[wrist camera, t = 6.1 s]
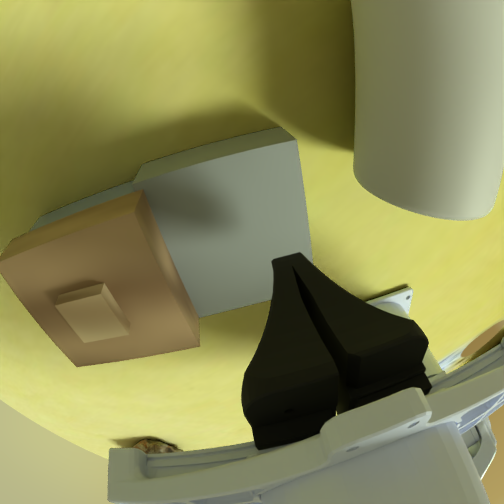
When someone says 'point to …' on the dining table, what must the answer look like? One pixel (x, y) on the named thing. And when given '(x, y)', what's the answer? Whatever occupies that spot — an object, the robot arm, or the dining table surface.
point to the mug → (430, 104)
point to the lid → (103, 284)
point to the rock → (155, 447)
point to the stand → (229, 215)
